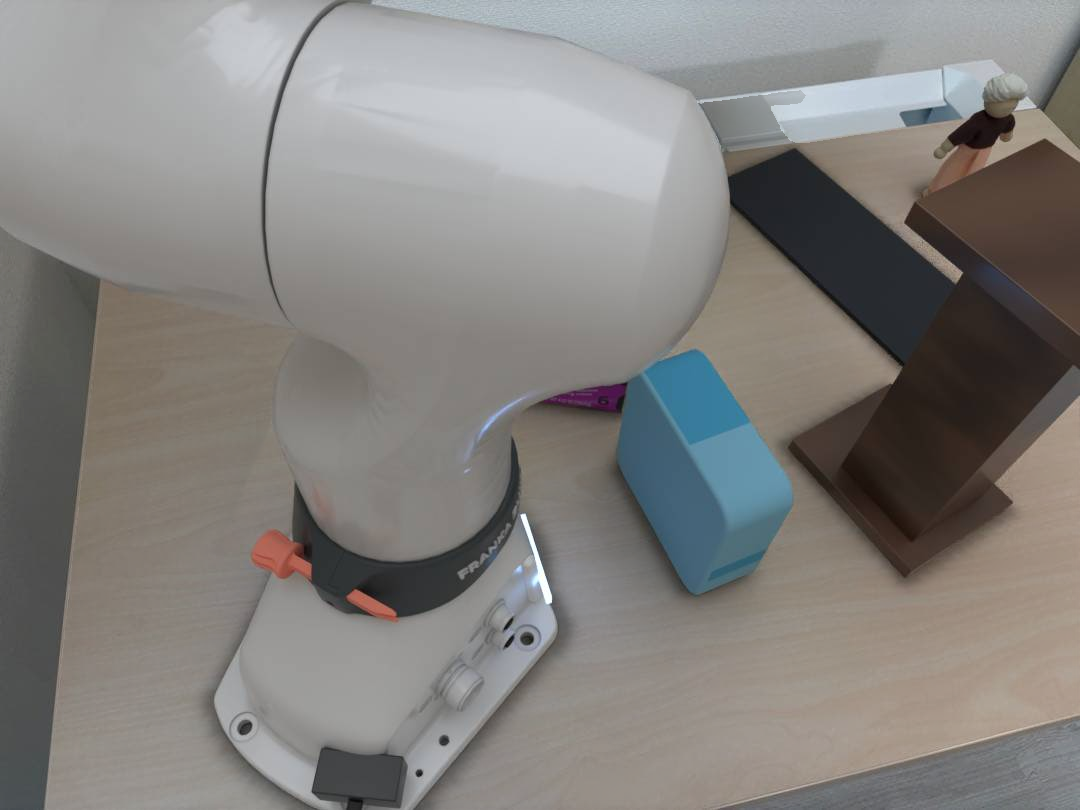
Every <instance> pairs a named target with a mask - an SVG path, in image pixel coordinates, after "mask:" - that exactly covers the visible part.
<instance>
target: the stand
mask: <svg viewBox="0 0 1080 810" xmlns="http://www.w3.org/2000/svg"><path fill="white" fill-rule="evenodd" d="M903 223H904V225H905V226H906V227H907V228H909V229H910V230H911V231H913V232H914V233H915V234H916V235H918V237H920V238H921V239H922V240H923V241H925V242H926V243H927V244H928V245H929V246H931V247H932V248H933V249H934V250H935V251H937V253H939V255H941V256H943V258H945V259H946V260H947V261H948V262H950V263H951V264H952V265H953V266H955V267H956V268H957V269H958V270H959V271H961V275H960V277H959V278H958V279H957V281H956V283H955V284H956V285H955V286H954V288H953V289H952V291H951V293H950V294H949V296H948V297H947V299H946V300H945V302H944V304H943V305H942V307H941V308H940V310H939V312H938V313H937V315H936V316H935V318H934V319H933V321H932V323H931V324H930V326H929V327H928V329H927V330H926V332H925V334H924V335H923V337H922V338H921V340H920V341H919V343H918V345H917V346H916V348H915V349H914V351H913V353H912V354H911V356H910V357H909V359H908V360H907V362H906V364H905V365H904V367H903V366H902V368H901V370H900V371H899V373H898V375H897V376H896V378H895V379H894V381H893V382H892V383H888V384H886V385H885V386H883V387H881V388H880V389H878V390H876V391H874V392H873V393H871V394H869V395H868V396H865V397H864V398H862V399H861V400H858V401H857V402H855V403H853V404H851V405H849V406H848V407H846V408H845V409H843V410H841V411H839V412H838V413H836V414H834V415H832V416H831V417H829V418H827V419H825V420H824V421H822V422H820V423H819V424H817V425H815V426H813V427H812V428H810V429H808V430H806V431H804V432H803V433H801V434H799V435H798V436H796V437H794V438H793V439H791V441H790V443H789V445H788V446H787V448H788V449H789V451H790V452H791V453H792V454H793V455H794V456H795V458H796V459H797V460H798V461H799V462H800V463H801V464H802V465H803V466H804V468H806V470H808V472H809V473H810V474H811V475H812V476H813V478H814V479H816V480H817V482H818V483H819V484H820V485H821V486H822V487H823V488H824V489H825V490H826V492H827V493H828V494H829V495H830V496H831V497H832V499H833V500H835V502H836V503H837V504H838V505H839V506H840V507H841V508H842V509H843V511H844V512H845V513H846V514H847V515H848V516H849V518H851V519H852V521H854V523H855V524H856V525H857V526H858V527H859V528H860V529H861V531H862V532H863V533H864V534H865V535H866V536H867V537H868V538H869V539H870V541H872V543H873V544H874V545H875V547H877V548H878V549H879V551H880V552H881V553H882V554H883V555H884V556H885V557H886V558H887V559H888V560H889V562H890V563H891V564H892V565H893V566H894V567H895V569H897V571H898V572H899V573H900V574H901V575H902V576H903V577H904V578H908V577H909V576H911V575H912V574H913V573H915V572H917V571H918V570H920V569H921V568H923V567H924V566H926V565H927V564H929V563H930V562H931V561H932V560H935V559H936V558H938V557H939V556H940V555H942V554H943V553H945V552H946V551H948V550H949V549H951V548H952V547H953V546H955V545H956V544H958V543H959V542H961V541H962V540H963V539H965V538H967V537H969V536H970V535H972V534H973V533H974V532H976V531H977V530H978V529H980V528H982V527H983V526H985V525H986V524H988V523H990V521H992V520H993V519H994V518H996V517H998V516H999V515H1001V514H1003V512H1005V511H1006V510H1007V509H1009V508H1010V507H1011V505H1013V504H1014V501H1013V500H1012V499H1011V498H1010V497H1009V496H1008V495H1007V494H1005V492H1003V491H1002V489H1000V488H999V486H997V484H995V483H997V482H998V481H999V480H1000V479H1001V477H1002V476H1003V475H1004V474H1005V473H1007V471H1008V470H1009V469H1010V468H1011V467H1012V466H1013V465H1014V464H1016V462H1017V461H1018V460H1019V459H1020V458H1021V457H1022V456H1023V455H1024V453H1026V452H1027V450H1029V448H1031V446H1032V445H1034V443H1036V442H1037V440H1038V439H1039V438H1040V437H1042V435H1043V434H1044V433H1045V432H1047V430H1048V429H1049V428H1050V427H1051V426H1052V425H1053V424H1054V423H1055V421H1057V420H1058V419H1059V418H1060V417H1061V416H1062V414H1064V413H1065V411H1067V410H1068V408H1069V407H1070V406H1071V405H1072V404H1073V403H1074V402H1075V401H1076V400H1077V399H1078V398H1079V397H1080V161H1079V160H1077V159H1076V158H1075V157H1073V156H1071V155H1070V154H1069V153H1067V152H1066V151H1065V150H1063V149H1062V148H1060V147H1059V146H1057V145H1055V143H1053V142H1052V141H1050V140H1049V139H1047V138H1043V139H1040V140H1038V141H1036V142H1034V143H1032V144H1030V145H1028V146H1026V147H1023V148H1022V149H1019V150H1018V151H1015V152H1013V153H1012V154H1009V155H1007V156H1005V157H1004V158H1001V159H999V160H997V161H995V162H992V163H991V164H989V165H987V166H985V167H984V168H982V169H980V170H978V171H976V172H974V173H972V174H970V175H968V176H966V177H964V178H962V179H960V180H958V181H956V182H954V183H952V184H949V185H947V186H945V187H943V188H941V189H939V190H937V191H935V192H933V193H931V194H929V195H927V196H925V197H923V196H922V197H921V198H918V199H917V200H914V202H913V203H912V205H911V207H910V209H909V211H908V213H907V215H906V217H905V219H904V221H903Z"/></svg>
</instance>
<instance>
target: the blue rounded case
mask: <svg viewBox="0 0 1080 810" xmlns="http://www.w3.org/2000/svg"><path fill="white" fill-rule="evenodd" d="M624 402H625V403H624V406H623V413H622V419H621V424H620V429H619V434H618V439H617V445H616V458H617V464H618V466H619V469H620V471H621V473H622V475H623V477H624V479H625V481H626V482H627V485H628V487H629V488H630V490H631V492H632V493H633V495H634V497H635V499H636V501H637V503H638V504H639V506H640V508H641V510H642V512H643V513H644V516H645V517H646V519H647V520H648V523H649V524H650V527H651V528H652V530H653V531H654V533H655V535H656V537H657V538H658V541H659V542H660V544H661V546H662V548H663V550H664V551H665V553H666V555H667V557H668V559H669V560H670V562H671V564H672V566H673V568H674V569H675V571H676V573H677V575H678V577H679V579H680V580H681V582H682V584H683V586H684V587H685V588H686V589H687V590H688V591H689V592H690V593H691V594H692V595H694V596H695V595H696V596H699V595H701V594H705V593H707V592H709V591H712V590H713V589H716V588H719V587H720V586H723V585H725V584H727V583H730V582H732V581H735V580H737V579H740V578H742V577H744V576H747V575H749V574H751V573H753V572H755V571H756V569H757V568H758V566H759V565H760V562H761V561H762V559H763V557H764V556H765V554H766V552H767V550H768V549H769V547H770V545H771V544H772V543H773V541H774V539H775V537H776V535H777V534H778V532H779V531H780V529H781V527H782V525H783V523H784V522H785V520H786V518H787V517H788V515H789V514H790V511H791V510H792V508H793V505H794V491H793V487H792V483H791V482H790V478H789V477H788V475H787V473H786V472H785V470H784V468H783V467H782V466H781V464H780V462H779V461H778V460H777V458H776V457H775V455H774V454H773V452H772V451H771V450H770V448H769V446H768V445H767V443H766V442H765V440H764V438H762V436H761V435H760V433H759V431H758V430H757V429H756V427H755V426H754V424H753V423H752V421H751V419H750V418H749V417H748V416H747V414H746V412H745V411H744V409H743V408H742V406H741V405H740V403H739V402H738V401H737V399H736V397H735V396H734V395H733V393H732V391H730V389H729V387H728V386H727V384H726V383H725V382H724V380H723V378H722V377H721V375H720V374H719V373H718V371H717V370H716V368H715V366H714V365H713V363H712V362H711V360H710V359H709V357H707V355H706V354H704V352H703V351H701V350H699V349H690V350H687V351H684V352H682V353H679V354H676V355H672V356H669V357H667V358H664V359H661V360H660V361H658V362H657V363H656V364H654V365H653V366H651V367H650V368H649V369H647V370H646V371H644V372H643V373H641V374H640V375H638V376H636V377H634V378H633V379H631V380H629V381H628V386H627V391H626V396H625V401H624Z"/></svg>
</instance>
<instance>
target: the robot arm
mask: <svg viewBox="0 0 1080 810" xmlns="http://www.w3.org/2000/svg"><path fill="white" fill-rule="evenodd" d="M373 2H374V1H373V0H0V227H1V229H3V230H4V231H5V232H6V233H8V234H9V235H11V236H12V237H14V238H16V239H17V240H18V241H21V242H22V243H24V244H26V245H29V246H30V247H33V248H34V249H37V250H38V251H41V252H42V253H44V254H46V255H48V256H50V257H53V258H55V259H57V260H59V261H60V262H63V263H65V264H67V265H68V266H71V267H73V268H75V269H77V270H79V271H81V272H83V273H85V274H88V275H90V276H93V277H95V278H97V279H100V280H102V281H103V282H106V283H108V284H111V285H112V286H115V287H117V288H118V289H121V290H124V291H126V292H129V293H131V294H135V295H137V296H142V297H145V298H151V299H154V300H159V301H163V302H167V303H171V304H177V305H181V306H185V307H189V308H193V309H198V310H202V311H207V312H211V313H216V314H220V315H224V316H227V317H233V318H236V319H241V320H245V321H250V322H255V323H257V324H258V323H259V324H263V325H266V326H272V327H276V328H280V329H285V330H289V331H294V332H296V333H298V334H297V335H296V337H295V338H293V340H292V341H291V342H290V344H289V345H288V347H287V348H286V350H285V352H284V353H283V355H282V357H281V359H280V361H279V364H278V366H277V369H276V372H275V375H274V380H273V385H272V388H271V389H272V391H271V400H270V419H271V420H270V421H271V426H272V431H273V434H274V437H275V439H276V442H277V444H278V446H279V448H280V450H281V453H282V454H283V457H284V459H285V462H286V463H287V465H288V468H289V470H290V473H291V474H292V477H293V482H294V483H293V501H292V521H291V522H292V523H291V528H290V531H289V533H288V536H286V535H285V534H283V532H281V531H279V530H277V529H275V528H272V529H269V530H267V531H265V532H264V533H263V534H262V535H261V536H260V537H259V539H257V542H256V543H255V544H254V547H253V548H252V554H251V557H250V558H251V563H252V564H253V565H254V566H257V567H258V568H261V569H264V570H266V571H269V572H271V574H270V576H269V578H268V581H267V584H266V585H265V589H264V591H263V593H262V594H261V597H260V599H259V602H258V605H257V606H256V609H255V611H254V613H253V616H252V618H251V621H250V623H249V625H248V628H247V629H246V632H245V635H244V637H243V638H242V640H241V642H240V644H239V646H238V649H237V650H236V652H235V654H234V656H233V658H232V659H231V661H230V664H229V665H228V667H227V669H226V670H225V674H224V675H223V677H222V679H221V680H220V683H219V685H218V687H217V690H215V694H214V697H213V706H214V709H215V713H216V716H217V718H218V721H219V723H220V726H221V727H222V729H223V732H224V733H225V734H226V736H227V738H228V739H229V741H230V742H231V744H232V745H233V746H234V748H235V749H236V750H237V751H238V753H239V754H240V755H241V756H242V757H243V758H244V759H245V761H247V763H248V764H249V765H251V767H253V768H254V769H255V770H256V771H257V772H258V773H260V774H261V775H262V776H263V777H264V778H266V779H267V780H269V782H272V783H273V784H274V785H276V786H277V787H279V788H280V789H281V790H283V791H284V792H286V793H288V794H289V795H291V796H293V797H294V798H296V799H297V800H299V801H301V802H303V803H304V804H306V805H308V806H310V807H312V808H315V809H316V810H415V808H416V807H417V806H418V805H419V803H421V801H423V799H424V798H425V796H426V795H427V794H428V793H429V792H430V790H432V788H433V786H435V785H436V783H437V782H438V781H439V780H440V779H441V777H442V776H443V775H444V774H445V772H447V770H448V769H449V768H450V767H451V765H452V764H453V763H454V762H455V760H456V759H457V758H458V757H459V756H460V754H462V752H463V751H464V750H465V748H466V747H468V745H469V744H470V742H471V741H473V739H474V738H475V736H476V735H477V734H478V733H479V732H480V730H481V729H483V727H484V726H485V725H486V724H487V722H488V721H489V720H490V718H491V717H493V715H494V714H495V713H496V712H497V710H498V709H499V708H500V707H501V705H502V704H503V703H504V702H505V701H506V700H507V698H508V697H509V696H510V694H511V693H512V692H513V691H514V690H515V688H517V686H518V685H519V684H520V683H521V681H522V680H523V679H524V678H525V676H526V675H527V674H528V673H529V672H530V671H531V669H532V668H533V667H534V666H535V664H536V663H537V662H538V661H539V660H540V658H541V657H542V656H543V655H544V654H545V653H546V651H547V650H548V649H549V648H550V647H551V646H552V644H553V643H554V641H555V639H557V635H558V630H559V629H558V627H559V626H558V621H557V617H556V614H555V611H554V610H553V607H552V605H551V604H552V600H553V597H552V596H553V595H552V593H551V590H550V587H549V584H548V581H547V578H546V575H545V571H544V568H543V565H542V562H541V559H540V556H539V552H538V550H537V547H536V544H535V541H534V537H533V534H532V531H531V527H530V525H529V522H528V519H527V516H526V513H523V514H521V513H520V512H521V511H520V503H521V496H522V489H523V488H522V484H523V482H522V481H523V479H522V477H523V476H522V466H521V464H520V463H519V455H518V453H519V452H518V448H517V445H516V442H515V439H514V437H513V426H514V420H515V416H517V415H518V414H519V413H521V412H524V411H525V410H526V409H528V408H531V407H532V406H534V405H536V404H538V403H542V402H541V401H543V400H545V399H548V398H550V397H553V396H556V395H559V394H563V393H566V392H571V391H575V390H580V389H585V388H591V387H598V386H605V385H613V384H620V383H625V382H628V383H629V381H630V380H631V379H633V378H634V377H636V376H638V375H640V374H641V373H643V372H644V371H646V370H647V369H649V368H650V367H651V366H653V365H654V364H656V363H657V362H658V361H661V360H663V358H664V357H665V356H666V355H667V354H669V353H670V352H671V351H672V350H673V349H674V348H675V347H676V346H677V345H678V344H679V343H680V342H681V341H682V339H683V338H684V337H685V336H686V335H687V334H688V332H689V331H690V330H691V329H692V327H693V325H694V324H695V323H696V322H697V320H698V319H699V318H700V316H701V314H702V312H703V311H704V309H705V308H706V305H707V304H708V302H709V300H710V298H711V297H712V294H713V293H714V289H715V287H716V285H717V282H718V280H719V278H720V275H721V271H722V268H723V265H724V262H725V261H724V260H725V257H726V252H727V247H728V242H729V236H730V226H731V203H730V192H729V185H728V178H727V177H728V171H727V168H726V163H725V160H724V159H725V158H724V156H723V152H722V149H721V146H720V144H719V141H718V138H717V137H716V133H715V131H714V129H713V126H712V125H711V122H710V121H709V119H708V117H707V114H706V113H705V111H704V110H703V108H702V106H701V105H700V103H699V101H698V100H697V98H696V97H695V96H694V95H693V93H692V92H691V91H690V90H689V89H686V88H684V87H681V86H679V85H677V84H674V83H672V82H669V81H667V80H665V79H662V78H661V77H658V76H656V75H654V74H651V73H649V72H646V71H644V70H642V69H640V68H637V67H635V66H633V65H630V64H629V63H625V62H623V61H621V60H618V59H616V58H613V57H611V56H608V55H605V54H603V53H600V52H598V51H595V50H592V49H590V48H587V47H585V46H582V45H580V44H577V43H574V42H572V41H570V40H567V39H565V38H562V37H559V36H556V35H552V34H551V35H550V34H547V33H540V32H535V31H528V30H522V29H515V28H513V27H512V28H511V27H506V26H499V25H494V24H488V23H482V22H476V21H471V20H466V19H459V18H453V17H447V16H442V15H437V14H430V13H424V12H419V11H414V10H409V9H401V8H396V7H391V6H390V7H389V6H385V5H379V4H373ZM526 636H528V637H531V638H532V640H533V642H531V644H524V643H523V642H522V641H521V640H522V638H524V637H526ZM246 724H251V729H250V731H249V732H248V733H246V734H241V730H242V728H243V727H244V725H246ZM445 739H446V740H448V743H447V744H445V745H442V744H441V742H442V741H443V740H445ZM420 773H421V776H418V774H420Z"/></svg>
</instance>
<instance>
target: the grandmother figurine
mask: <svg viewBox="0 0 1080 810" xmlns="http://www.w3.org/2000/svg"><path fill="white" fill-rule="evenodd" d="M1028 93H1029V87H1028V84H1027V83H1026V82H1025V81H1024V79H1023V78H1021V76H1018V75H1016V74H1014V73H1013V72H1008V73H1006V72H1005V73H1002V74H999V75H997V76H992V77H991V78H990V79H989V80H987V82H986V84H985V85H984V87H983V92H982V94H981V98H982V100H983V109H981V110H979V111H977V112H974V113H973V114H972V115H971V116H970V117H969V118H968V119H967V120H966V121H965V122H963V123H962V124H960V125H959V126H958V127H957V128H955V130H953V131H952V132H951V133H949V135H948V136H947V137H946V139H945V140H943V141H942V142H941V144H940V146H938V147H937V148H935V149H934V150H933V157H934V158H935V159H937V160H942V159H944V158H945V157H946V156H947V155H948V153H950V152H951V151H952V150H954V149H955V148H956V149H955V150H954V151H953V152H952V153H951V154H950V155H949V156H948V157H947V158H946V159H945V160H944V162H943V163H941V165H940V166H939V168H938V171H937V173H935V176H934V177H933V179H932V181H931V182H930V184H929V186H928V188H925V189H924V190H922V192H921V196H922V198H923V197H925V196H927V195H929V194H931V193H933V192H935V191H937V190H939V189H941V188H943V187H945V186H947V185H949V184H952V183H954V182H956V181H958V180H960V179H962V178H964V177H966V176H968V175H970V174H972V173H974V172H976V171H978V170H980V169H982V168H985V167H986V164H987V161H988V159H989V158H990V154H991V152H992V148H993V146H994V145H995V144H996V142H997V140H998V139H999V140H1000V141H1001V142H1003V143H1008V142H1010V141H1011V140H1013V137H1014V134H1013V133H1014V130H1015V127H1016V123H1017V122H1016V117H1015V115H1014V114H1013V113H1014V111H1015V110H1016V109H1017V107H1018V105H1019V102H1021V101H1024V99H1025V98H1027V96H1028Z"/></svg>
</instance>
